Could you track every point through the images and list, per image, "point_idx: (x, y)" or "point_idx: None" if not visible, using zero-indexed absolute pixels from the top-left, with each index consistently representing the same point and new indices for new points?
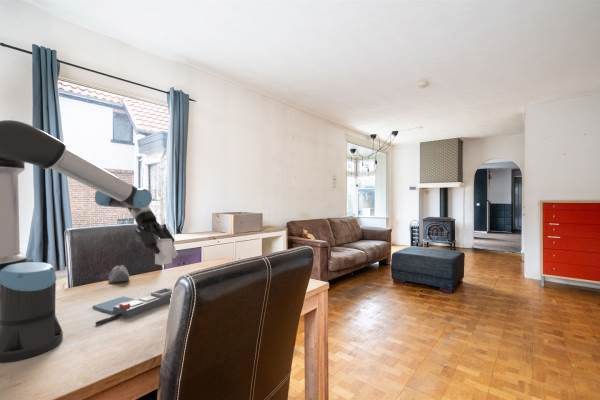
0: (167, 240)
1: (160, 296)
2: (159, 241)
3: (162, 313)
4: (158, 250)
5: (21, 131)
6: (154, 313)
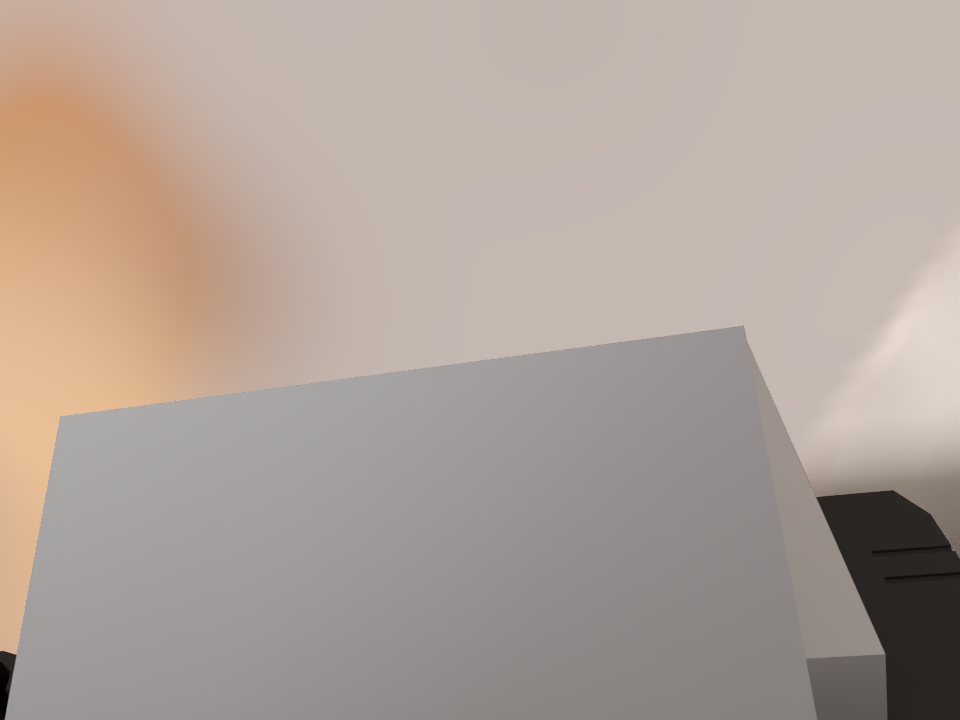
0: (370, 394)
1: None
2: (776, 580)
3: (852, 384)
4: (853, 523)
5: None
6: (908, 448)
